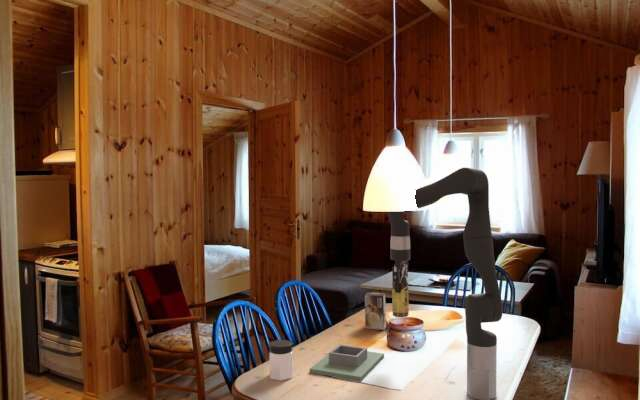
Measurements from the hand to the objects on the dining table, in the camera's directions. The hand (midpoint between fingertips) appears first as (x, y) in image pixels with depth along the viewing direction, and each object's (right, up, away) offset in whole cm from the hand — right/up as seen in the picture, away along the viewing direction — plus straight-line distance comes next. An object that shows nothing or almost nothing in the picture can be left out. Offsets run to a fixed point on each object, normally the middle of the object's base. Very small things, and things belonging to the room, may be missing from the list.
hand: (400, 290), depth 204 cm
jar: (-45, -29, -13) cm, 55 cm away
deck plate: (-20, -28, -2) cm, 34 cm away
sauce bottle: (0, -10, 0) cm, 10 cm away
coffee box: (-5, -25, +46) cm, 52 cm away
